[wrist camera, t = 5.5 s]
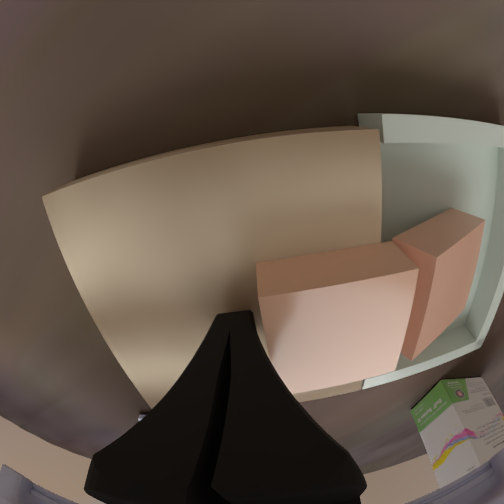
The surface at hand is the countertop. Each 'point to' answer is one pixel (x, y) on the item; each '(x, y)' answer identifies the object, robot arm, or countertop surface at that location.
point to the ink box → (459, 427)
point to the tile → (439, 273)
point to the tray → (439, 200)
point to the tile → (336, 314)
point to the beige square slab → (209, 236)
